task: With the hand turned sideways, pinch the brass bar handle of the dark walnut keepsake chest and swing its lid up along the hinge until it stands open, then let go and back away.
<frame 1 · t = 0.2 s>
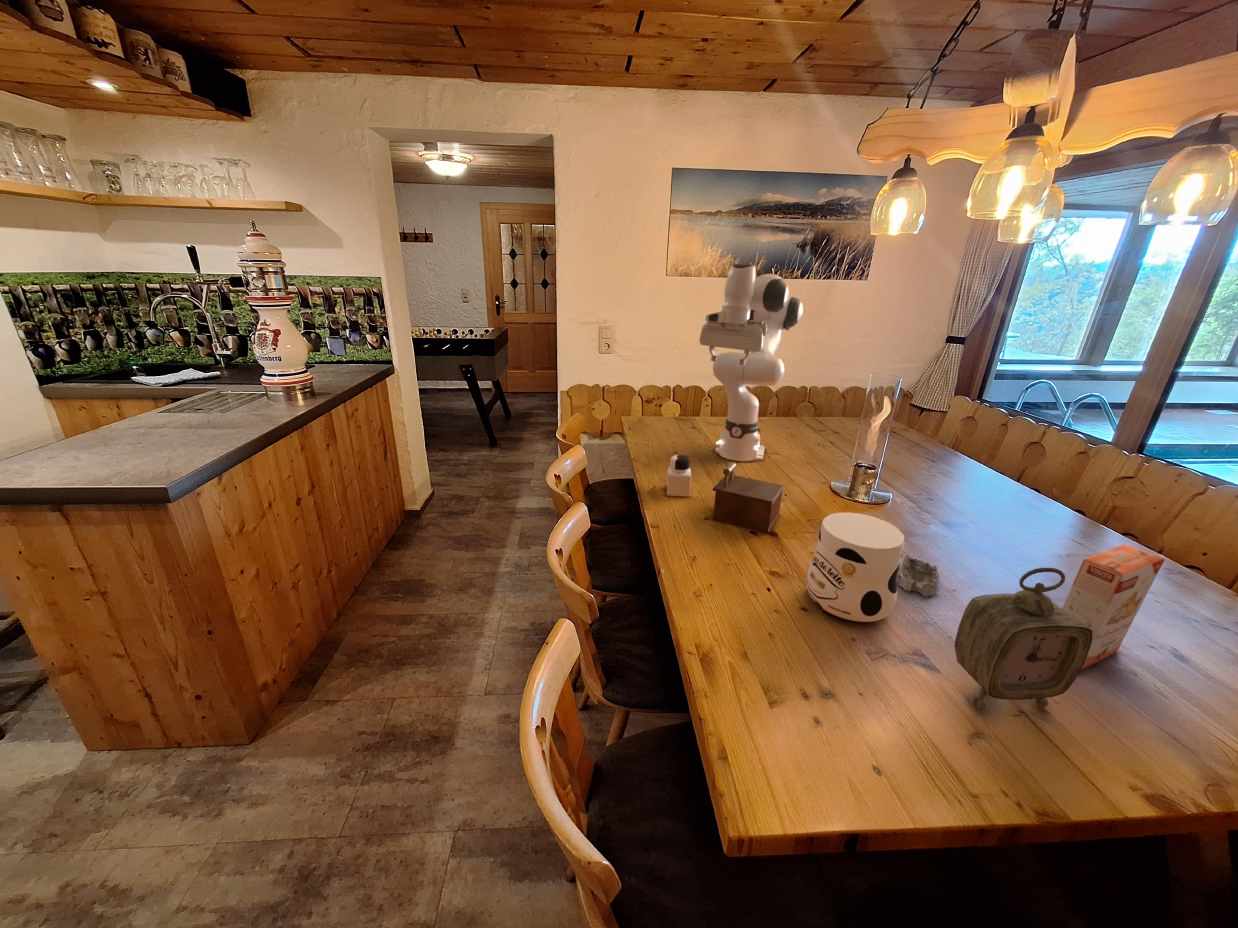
hand: (727, 363, 157), 39 cm above the table, tool pointing down, fingers open, 8 cm apart
chest lid: (749, 479, 137), point 12 cm above the table, hinge at 0.0°
cracker box: (1080, 653, 92), on the table
tabletop clock: (995, 694, 83), on the table
egg carton: (916, 582, 112), on the table
chest: (746, 517, 141), on the table
milk container: (845, 604, 105), on the table
medicine bottle: (678, 492, 157), on the table
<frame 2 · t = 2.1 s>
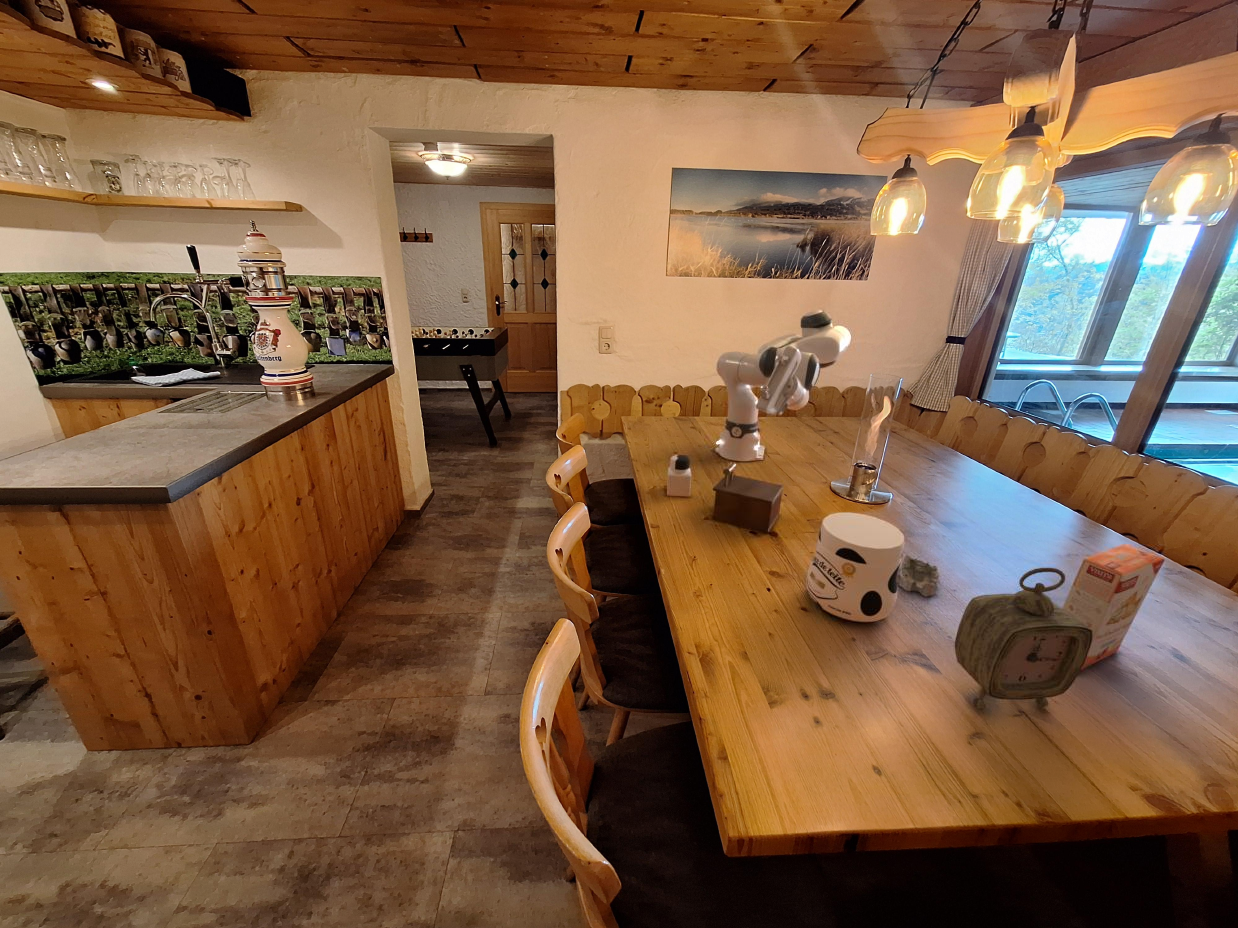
hand: (771, 373, 137), 40 cm above the table, tool pointing upward, fingers open, 8 cm apart
nothing on the table moved.
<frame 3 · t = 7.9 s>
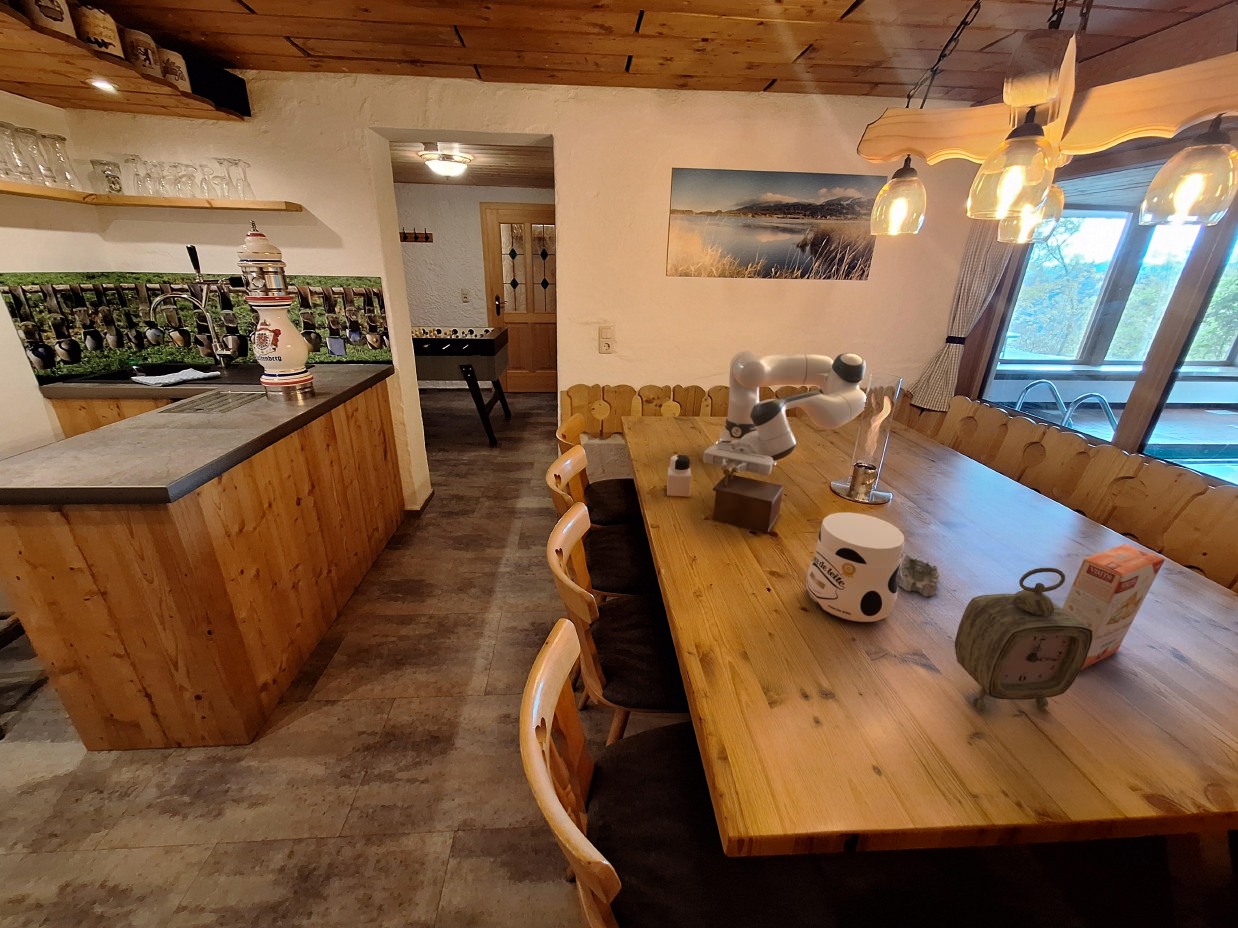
hand: (729, 468, 139), 14 cm above the table, tool horizontal, fingers closed on chest lid, 2 cm apart
chest lid: (749, 479, 137), point 12 cm above the table, hinge at 0.0°, touching gripper
everything else where it was.
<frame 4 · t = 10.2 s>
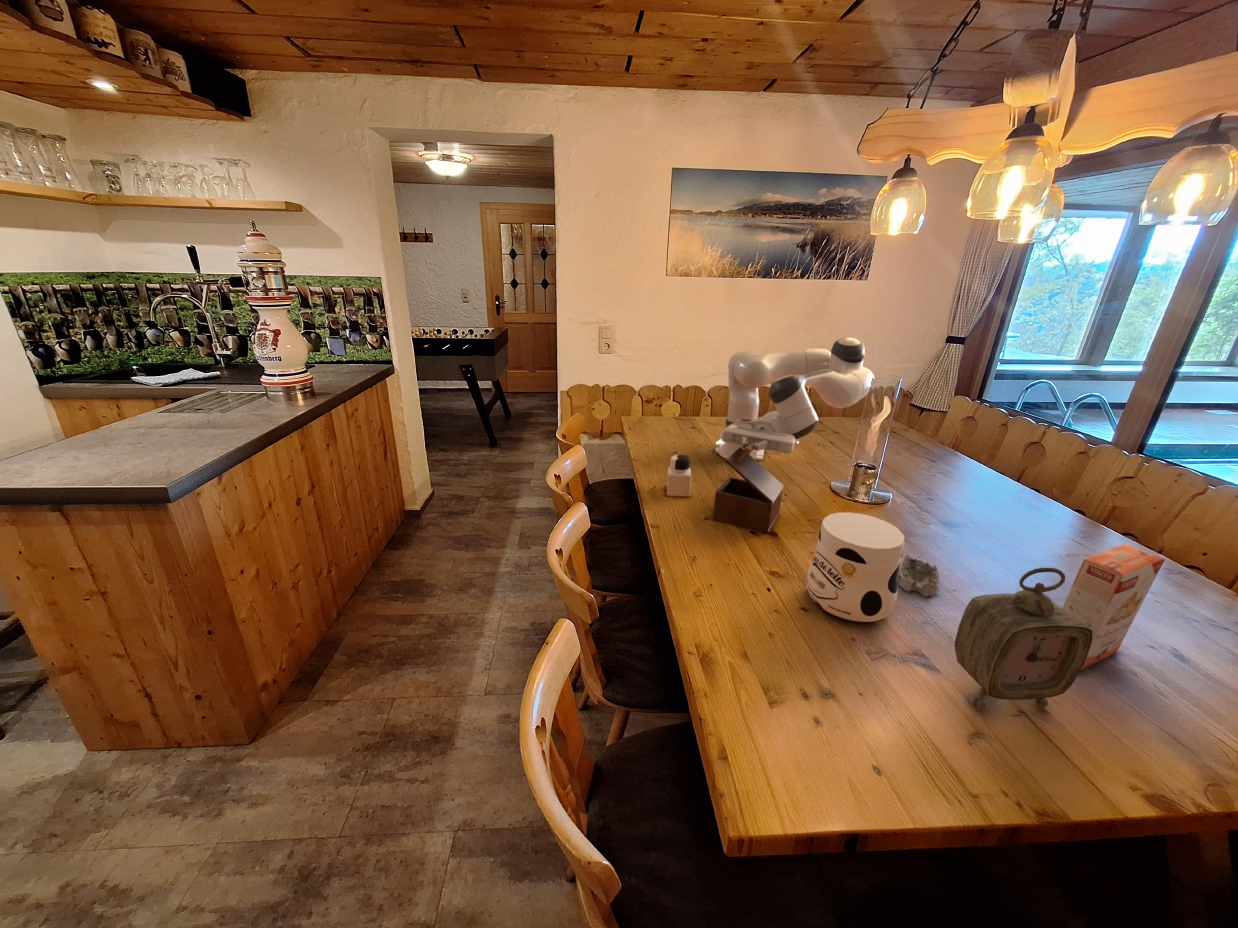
hand: (750, 446, 134), 21 cm above the table, tool horizontal, fingers closed on chest lid, 2 cm apart
chest lid: (761, 467, 134), point 16 cm above the table, hinge at 34.0°, touching gripper
everything else where it was.
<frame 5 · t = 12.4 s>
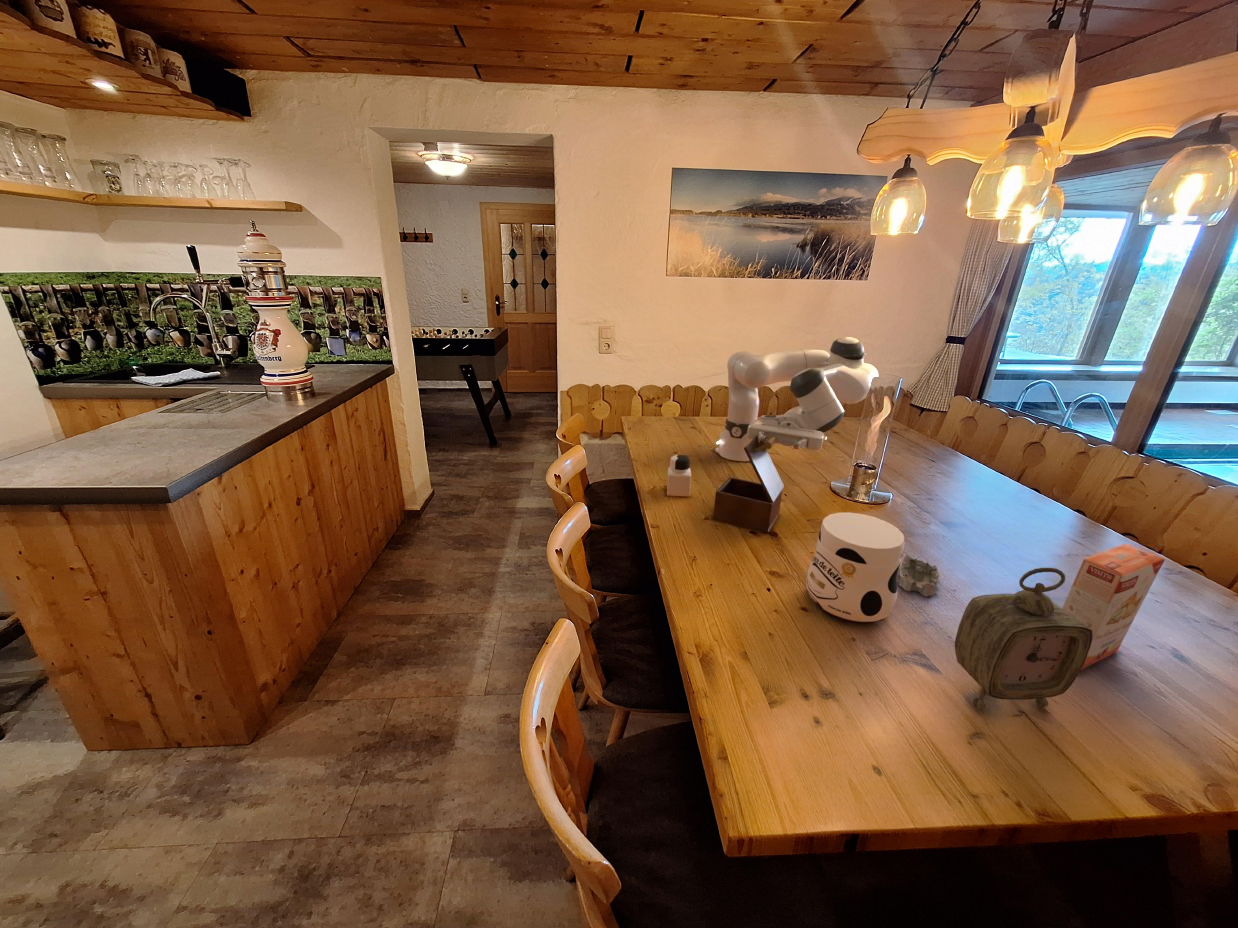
hand: (778, 443, 130), 24 cm above the table, tool horizontal, fingers open, 8 cm apart
chest lid: (773, 464, 132), point 18 cm above the table, hinge at 57.1°, touching gripper
everything else where it was.
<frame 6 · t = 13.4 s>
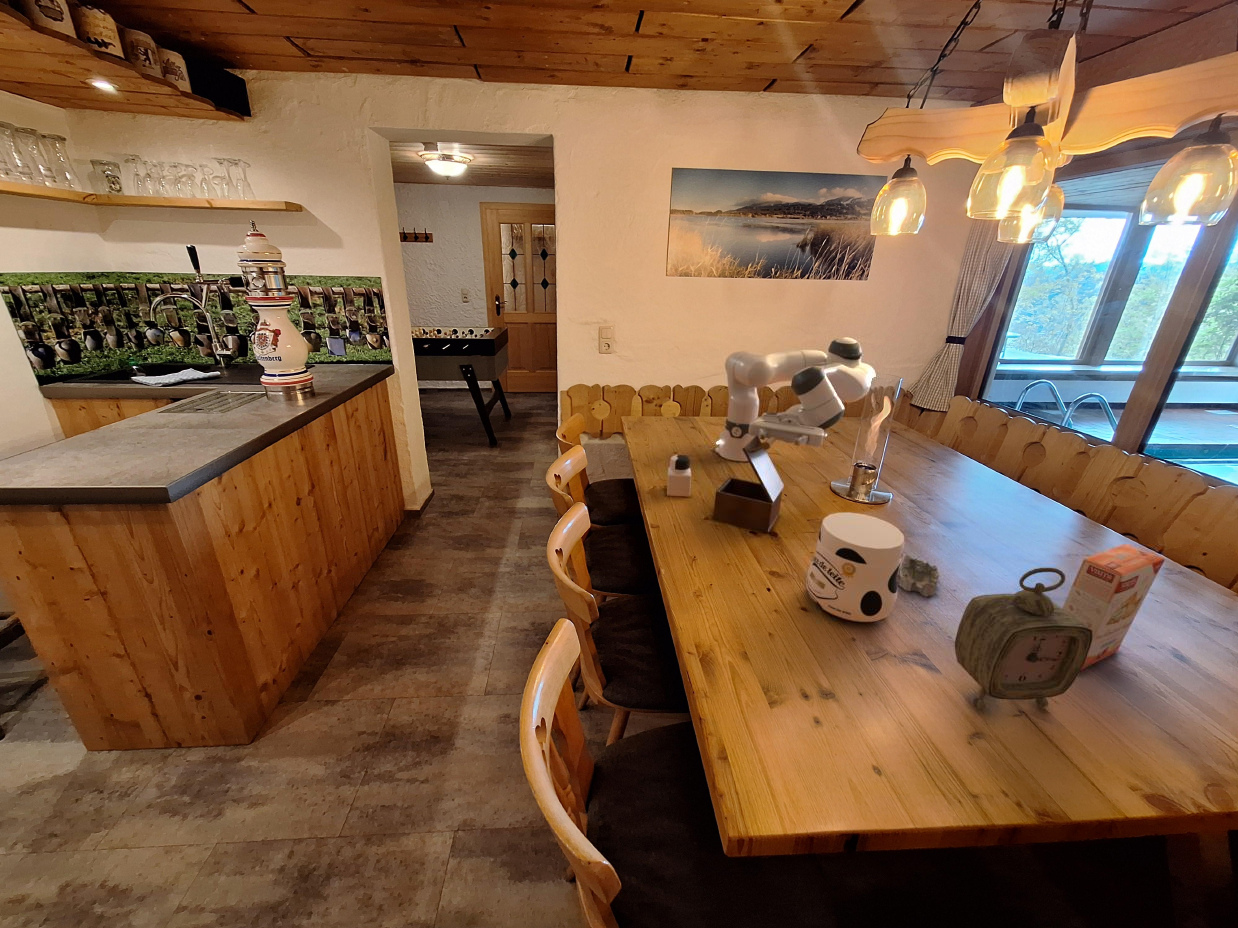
hand: (779, 439, 132), 24 cm above the table, tool horizontal, fingers open, 8 cm apart
chest lid: (772, 464, 132), point 18 cm above the table, hinge at 55.6°
everything else where it was.
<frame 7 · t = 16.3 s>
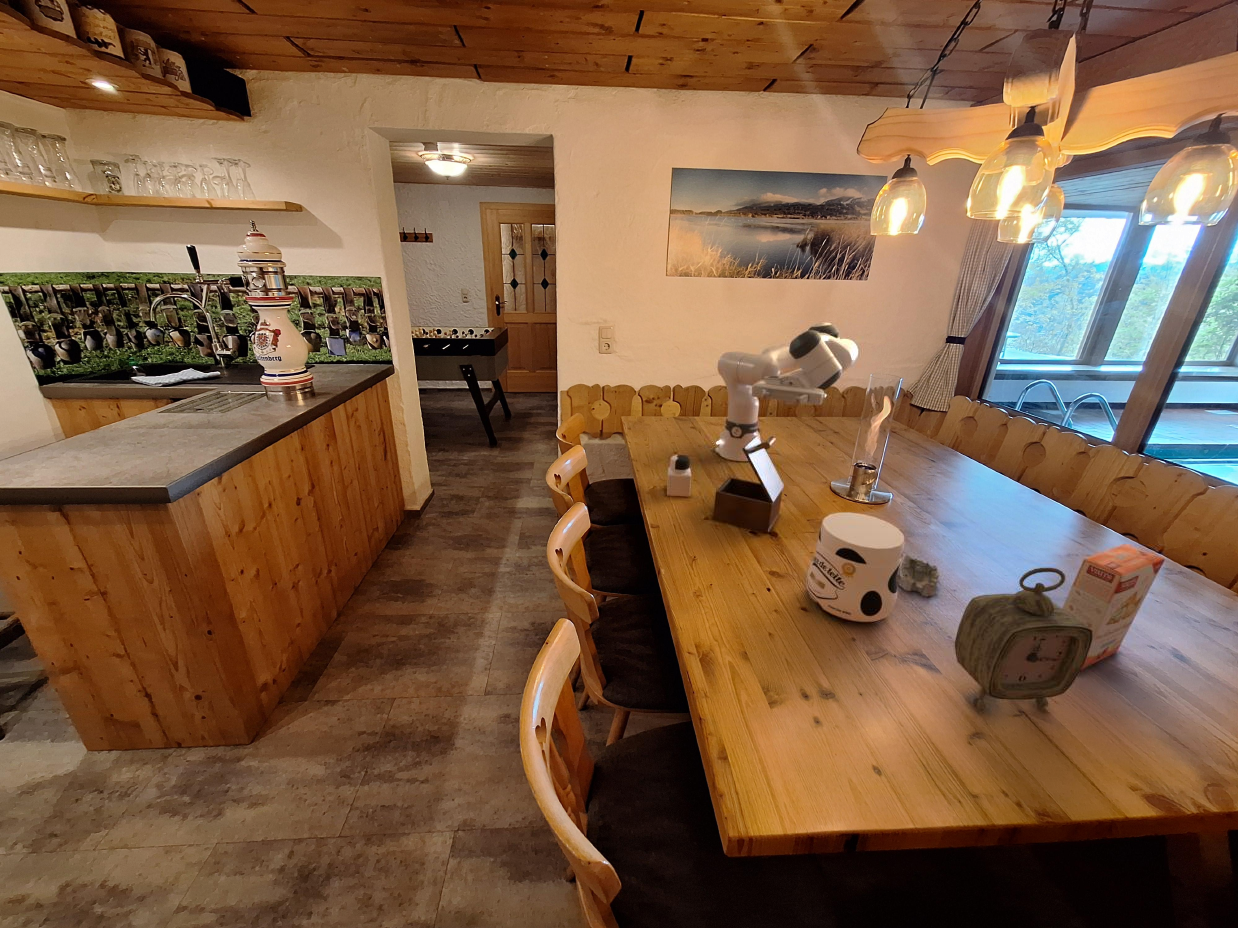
hand: (781, 398, 139), 33 cm above the table, tool horizontal, fingers open, 8 cm apart
nothing on the table moved.
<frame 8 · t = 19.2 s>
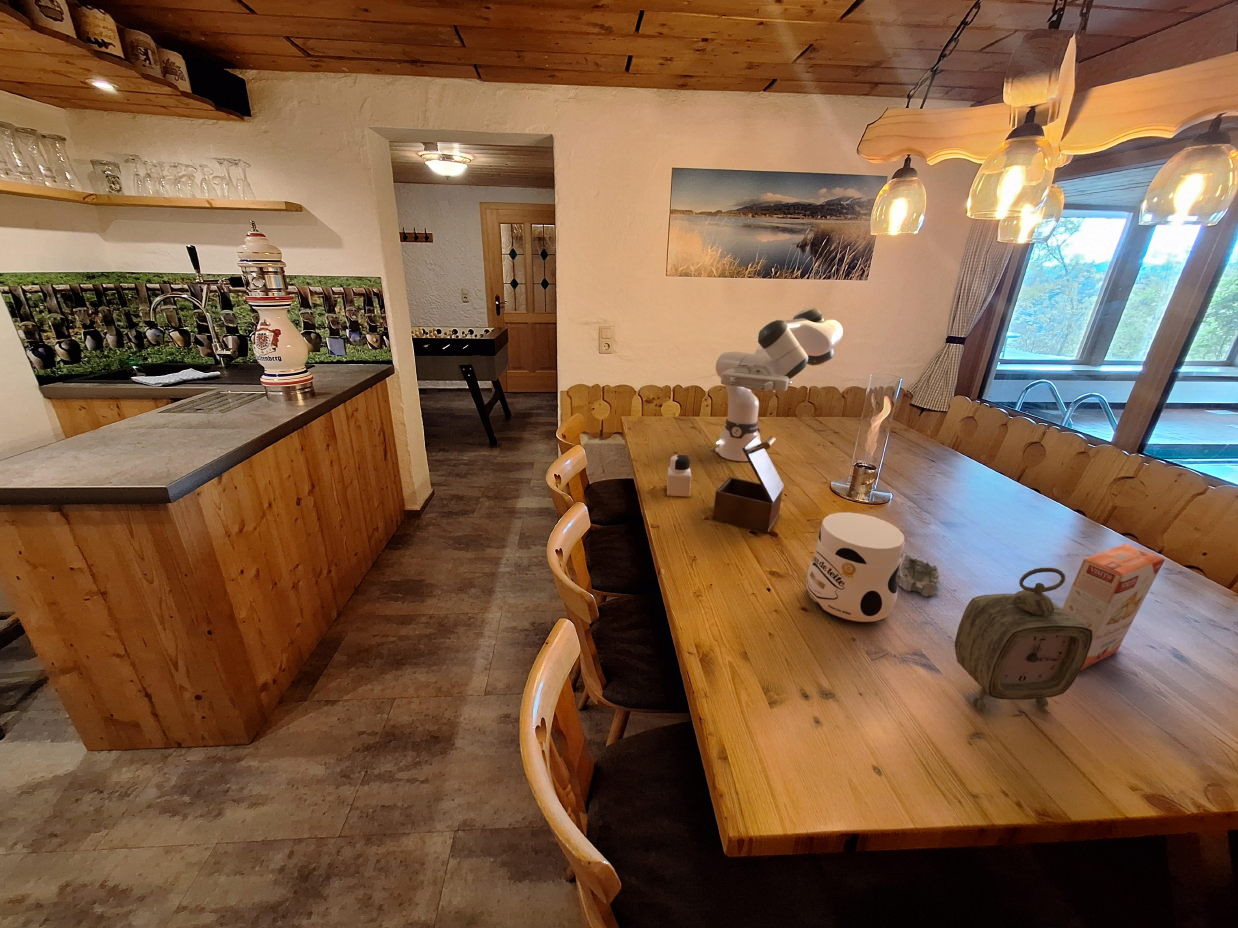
hand: (747, 385, 144), 35 cm above the table, tool horizontal, fingers open, 8 cm apart
nothing on the table moved.
at the end: chest lid at +56° (first picture: +0°); the gripper is holding nothing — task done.
